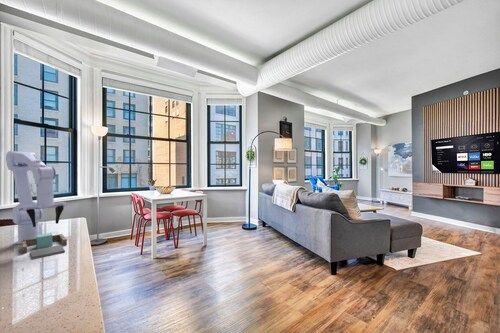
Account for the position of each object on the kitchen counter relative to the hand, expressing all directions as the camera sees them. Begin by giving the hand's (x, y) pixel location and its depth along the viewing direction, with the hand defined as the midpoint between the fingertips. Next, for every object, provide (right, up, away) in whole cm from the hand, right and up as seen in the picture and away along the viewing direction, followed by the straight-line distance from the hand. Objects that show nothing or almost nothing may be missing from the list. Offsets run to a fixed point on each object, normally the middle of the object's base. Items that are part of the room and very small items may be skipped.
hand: (46, 224), depth 106 cm
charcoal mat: (+6, -10, -7) cm, 13 cm away
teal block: (-2, -10, +2) cm, 10 cm away
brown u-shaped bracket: (-2, -10, +2) cm, 10 cm away
